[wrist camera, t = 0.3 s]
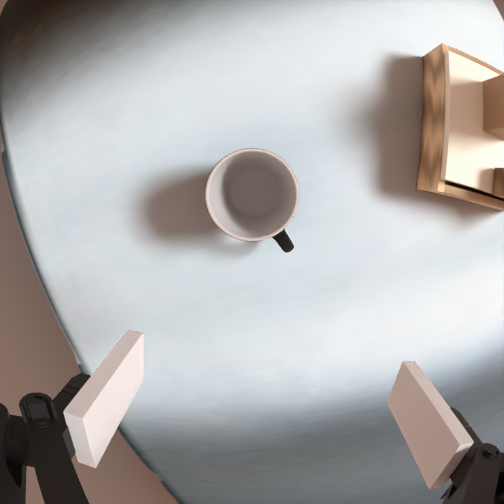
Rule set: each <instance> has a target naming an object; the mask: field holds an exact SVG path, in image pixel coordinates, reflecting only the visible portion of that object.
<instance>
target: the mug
mask: <svg viewBox="0 0 504 504" xmlns="http://www.w3.org/2000/svg"><path fill="white" fill-rule="evenodd" d="M205 201H206V206H207V209H208V212H209V214H210V216H211V218H212V220H213V221H214V223H215V224H216V225H217V226H218V227H219V228H220V229H221V230H222V231H223V232H225V233H226V234H228V235H229V236H231V237H233V238H236V239H239V240H243V241H261V240H265V239H268V238H271V237H272V238H273V239H275V240H276V242H277V243H278V244H279V246H280V247H281V248H282V250H283V251H284V252H290V251H291V250H292V249H293V248H294V245H293V243H292V242H291V240H290V238H289V237H288V235H287V234H286V232H285V229H284V228H285V227H286V226H287V225H288V224H289V223H290V222H291V220H292V218H293V217H294V215H295V212H296V210H297V206H298V201H299V189H298V183H297V180H296V177H295V175H294V173H293V171H292V170H291V168H290V167H289V166H288V164H287V163H286V162H285V161H284V160H283V159H281V158H280V157H279V156H277V155H275V154H274V153H271V152H269V151H266V150H262V149H257V148H247V149H242V150H238V151H235V152H233V153H230V154H229V155H227V156H225V157H224V158H223V159H221V160H220V161H219V162H218V163H217V164H216V166H215V167H214V168H213V170H212V171H211V173H210V175H209V177H208V180H207V184H206V189H205Z"/></svg>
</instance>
